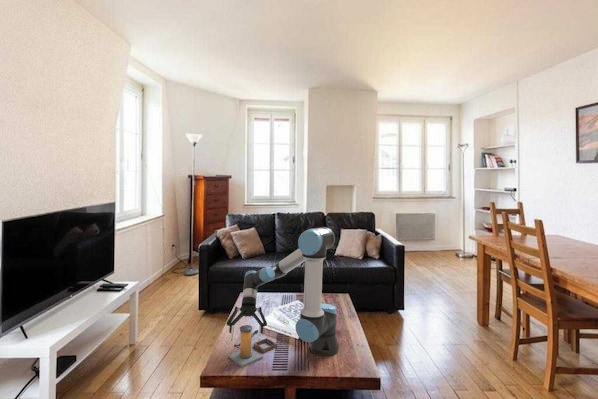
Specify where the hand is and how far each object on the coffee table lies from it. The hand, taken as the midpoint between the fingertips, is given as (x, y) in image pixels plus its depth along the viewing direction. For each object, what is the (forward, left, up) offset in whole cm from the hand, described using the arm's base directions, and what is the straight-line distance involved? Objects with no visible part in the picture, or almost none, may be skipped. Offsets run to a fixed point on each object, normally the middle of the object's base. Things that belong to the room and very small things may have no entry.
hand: (245, 339), depth 160 cm
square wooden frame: (+2, -14, -9) cm, 17 cm away
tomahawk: (+14, -13, -10) cm, 22 cm away
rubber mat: (0, 0, -9) cm, 9 cm away
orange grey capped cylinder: (0, 0, -8) cm, 8 cm away
